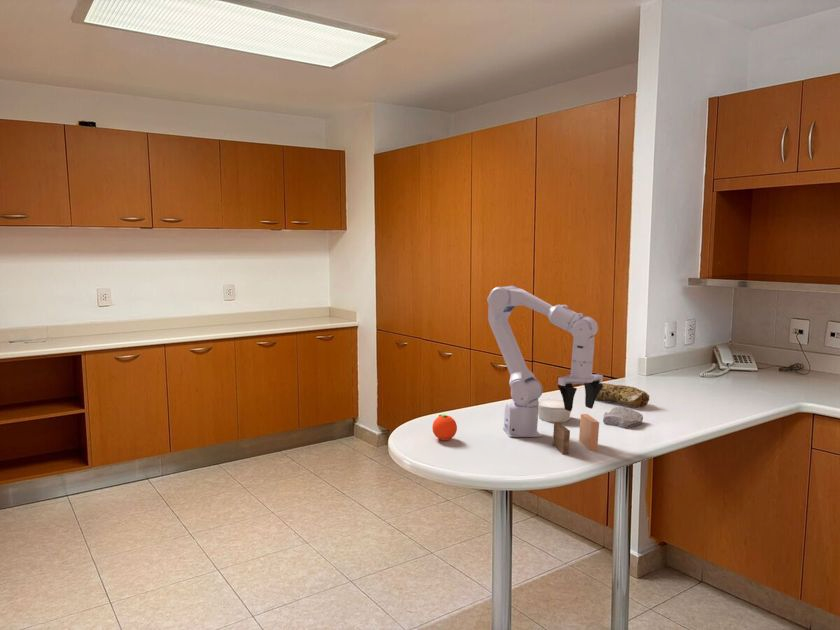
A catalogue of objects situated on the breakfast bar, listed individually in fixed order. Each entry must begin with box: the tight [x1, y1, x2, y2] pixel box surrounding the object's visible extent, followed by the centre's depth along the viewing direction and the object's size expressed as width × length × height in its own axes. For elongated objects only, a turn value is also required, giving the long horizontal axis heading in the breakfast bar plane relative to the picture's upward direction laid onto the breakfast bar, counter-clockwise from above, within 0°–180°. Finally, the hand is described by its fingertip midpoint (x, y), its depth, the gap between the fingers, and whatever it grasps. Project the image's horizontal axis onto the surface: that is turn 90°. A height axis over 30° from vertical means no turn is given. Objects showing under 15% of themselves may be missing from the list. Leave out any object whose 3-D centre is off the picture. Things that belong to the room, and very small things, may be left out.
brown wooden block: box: [552, 422, 571, 455], centre depth 166 cm, size 2×8×6 cm, turn 7°
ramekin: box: [538, 398, 572, 424], centre depth 196 cm, size 11×11×5 cm
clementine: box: [431, 414, 458, 441], centre depth 171 cm, size 8×7×7 cm
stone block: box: [602, 406, 644, 429], centre depth 194 cm, size 12×5×10 cm
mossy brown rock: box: [595, 382, 650, 408], centre depth 220 cm, size 13×8×20 cm
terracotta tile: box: [578, 413, 600, 451], centre depth 170 cm, size 2×8×8 cm, turn 7°
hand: (578, 408), depth 170 cm, fingers open, 7 cm apart
